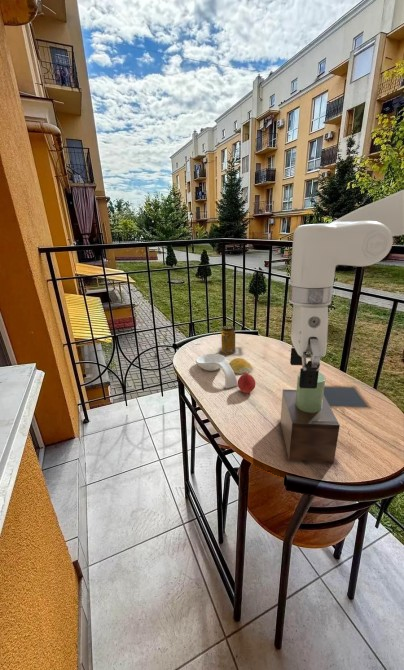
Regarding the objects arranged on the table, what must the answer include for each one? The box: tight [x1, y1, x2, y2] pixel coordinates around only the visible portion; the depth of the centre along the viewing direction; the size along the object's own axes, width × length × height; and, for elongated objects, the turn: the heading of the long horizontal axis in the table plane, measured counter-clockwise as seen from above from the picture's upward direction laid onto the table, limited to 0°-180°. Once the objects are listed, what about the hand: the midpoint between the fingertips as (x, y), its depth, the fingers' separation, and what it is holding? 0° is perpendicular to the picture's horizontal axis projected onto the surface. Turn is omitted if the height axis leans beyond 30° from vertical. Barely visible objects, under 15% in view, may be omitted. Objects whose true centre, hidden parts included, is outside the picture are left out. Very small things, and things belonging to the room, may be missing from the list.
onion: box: [237, 372, 256, 394], centre depth 92 cm, size 6×6×8 cm
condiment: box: [221, 325, 236, 355], centre depth 123 cm, size 7×8×12 cm
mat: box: [324, 386, 368, 408], centre depth 89 cm, size 11×11×1 cm
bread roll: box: [228, 357, 252, 375], centre depth 109 cm, size 8×9×4 cm
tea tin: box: [295, 371, 326, 413], centre depth 66 cm, size 6×6×8 cm
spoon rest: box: [195, 353, 238, 389], centre depth 106 cm, size 24×12×7 cm, turn 24°
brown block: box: [279, 389, 341, 464], centre depth 69 cm, size 10×14×11 cm
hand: (302, 375), depth 58 cm, fingers open, 9 cm apart
